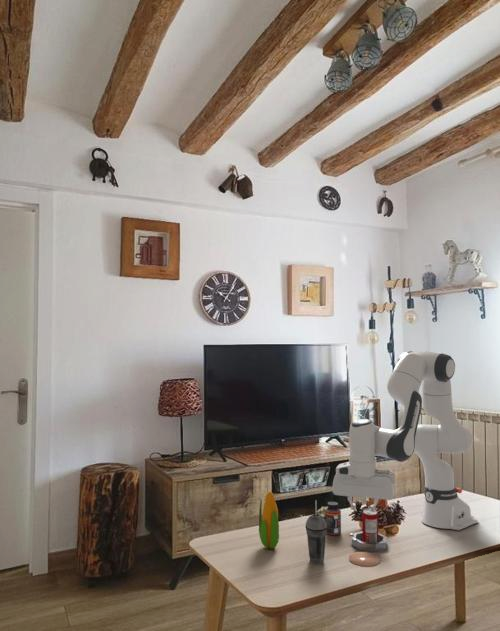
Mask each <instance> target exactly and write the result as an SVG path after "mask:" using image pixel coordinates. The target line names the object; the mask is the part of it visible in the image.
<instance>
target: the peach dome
mask: <svg viewBox="0 0 500 631" xmlns="http://www.w3.org/2000/svg"><path fill="white" fill-rule="evenodd" d="M348 561H349V562H351V563H352V564H354V565H357V566H361V567H374V566H377V565H378V564H380V557H379V556H378V555H376V554H374V553H373V552H372V553H371V552H369V551H357V552H352V553H350V554H349V556H348Z"/></svg>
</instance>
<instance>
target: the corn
mask: <svg viewBox="0 0 500 631" xmlns="http://www.w3.org/2000/svg"><path fill="white" fill-rule="evenodd" d="M262 504H263V503H262V499H260V503H259V515H258V533H259V539H260V542H261V544H262V545H263V547H265V549H268V550H273V549H275V548H276V547H277V545H278V543H279V539H280V529H279V528H280V526H279V509H278V506H277V503H276V498H275V495H274V494H273V492H272V491H268V492H267V494H266V495H265V500H264V504H263V509H262ZM262 510H263V511H262Z"/></svg>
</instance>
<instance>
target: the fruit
mask: <svg viewBox="0 0 500 631" xmlns="http://www.w3.org/2000/svg"><path fill="white" fill-rule="evenodd" d="M326 508H328V505H326V506H321V508H319V509H317V514H319V515H321V516H322V517H323V518H324V519H325V510H326Z"/></svg>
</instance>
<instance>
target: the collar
mask: <svg viewBox="0 0 500 631" xmlns="http://www.w3.org/2000/svg"><path fill="white" fill-rule="evenodd" d="M349 536H350V537H351V546H352V547H354V548H356V549H358V550H360V551H361V552H369V553H371V552H372V553H377V552H381V551H385V550H387V547H388V545H387V544H388V537H387V536H386V535H383V534H382V533H380V532H378V542H377V543H367V542H363V531H358V532H353V533H349Z"/></svg>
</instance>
